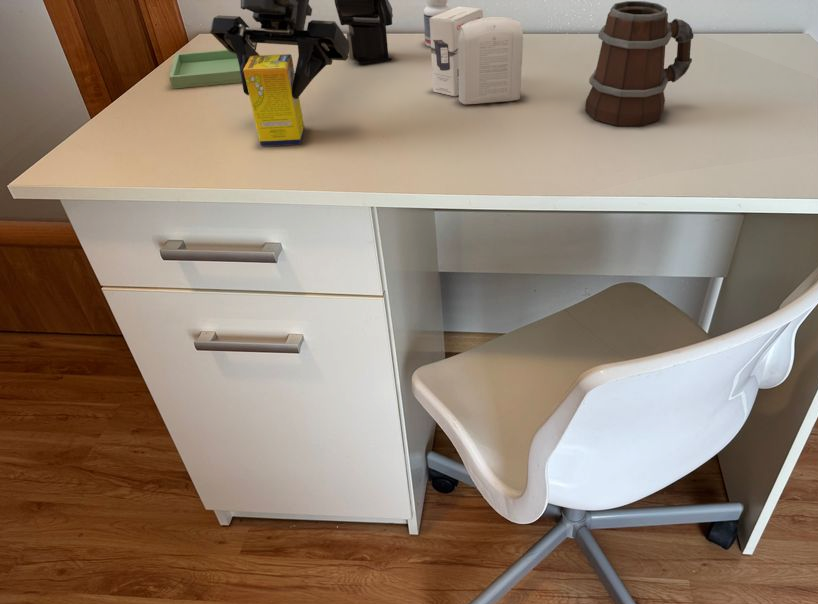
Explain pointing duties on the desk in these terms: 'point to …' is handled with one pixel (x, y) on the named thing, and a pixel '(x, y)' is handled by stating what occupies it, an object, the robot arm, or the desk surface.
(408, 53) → the desk surface
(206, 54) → the green tray
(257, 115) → the supplement box
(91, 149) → the desk surface
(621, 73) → the mug
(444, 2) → the pill bottle
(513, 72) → the white rounded box
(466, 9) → the ink box
